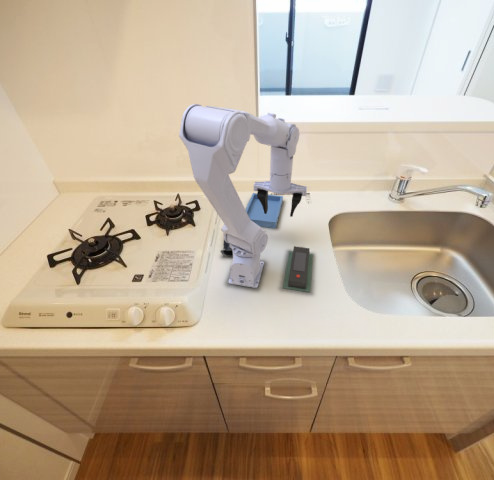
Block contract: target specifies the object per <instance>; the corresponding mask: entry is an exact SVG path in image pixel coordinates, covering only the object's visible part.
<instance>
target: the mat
mask: <svg viewBox="0 0 494 480" xmlns="http://www.w3.org/2000/svg"><path fill="white" fill-rule="evenodd" d="M292 255H293V250H289V251H288V256H287V260H286V261H287V263H286V269H285V274H284V279H283V285H282V289H285V290H293V291H298V292H304V293H311V287H312V272H313V271H312V270H313V259H314V254H313V253H309V260H308V271H307V283H306V288H305V289H302V288H296V287H289V286H288V282H289V275H290V268H291V262H292Z"/></svg>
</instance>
